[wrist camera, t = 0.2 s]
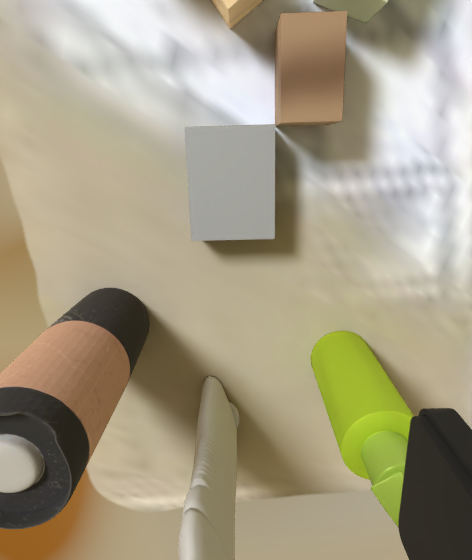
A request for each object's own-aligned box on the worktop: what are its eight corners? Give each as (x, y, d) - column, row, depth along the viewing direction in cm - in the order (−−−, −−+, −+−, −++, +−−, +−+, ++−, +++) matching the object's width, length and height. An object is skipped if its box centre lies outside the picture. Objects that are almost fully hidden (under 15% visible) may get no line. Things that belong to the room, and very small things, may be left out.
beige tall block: (248, 453, 45) (256, 718, 24) (211, 459, 45) (187, 726, 24) (228, 368, 42) (218, 588, 21) (189, 375, 42) (139, 599, 21)
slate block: (189, 128, 35) (184, 126, 32) (271, 126, 35) (275, 124, 32) (195, 232, 38) (191, 240, 35) (271, 230, 38) (274, 238, 35)
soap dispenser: (343, 311, 40) (439, 459, 21) (380, 363, 42) (499, 544, 23) (293, 344, 41) (340, 513, 22) (331, 393, 43) (405, 590, 24)
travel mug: (86, 361, 42) (-43, 539, 23) (64, 290, 40) (-99, 423, 20) (160, 350, 41) (92, 523, 22) (142, 278, 39) (50, 402, 20)
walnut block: (275, 32, 33) (281, 13, 28) (331, 30, 33) (347, 10, 28) (274, 126, 35) (280, 122, 30) (328, 124, 35) (342, 120, 30)
